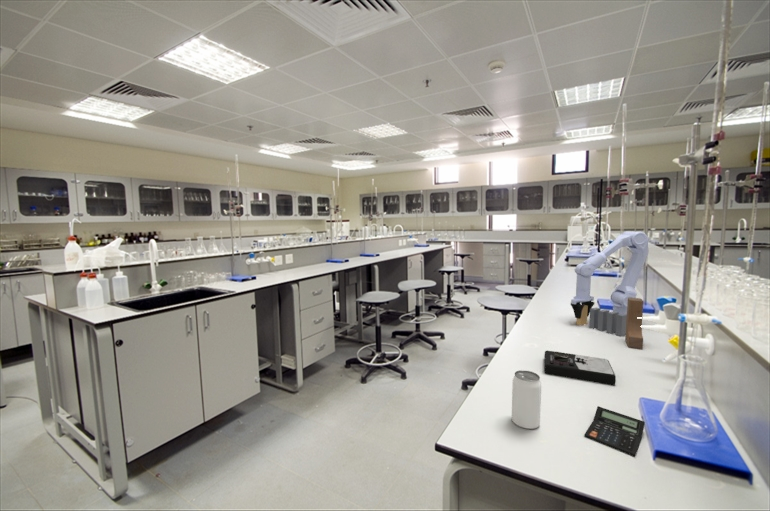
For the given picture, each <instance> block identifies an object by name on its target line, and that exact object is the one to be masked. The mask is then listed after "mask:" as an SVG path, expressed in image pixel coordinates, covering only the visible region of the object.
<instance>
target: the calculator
mask: <svg viewBox="0 0 770 511" xmlns="http://www.w3.org/2000/svg"><path fill="white" fill-rule="evenodd" d="M645 423H646V422H645V421H644V420H642V419H641V420H640V419H637V418H635V417H632V416H628V415H625V414H623V413H620V412H616V411H614V410H610V409H607V408H605V407H601V406H599V405H597V407H596V409H595V413H594V416H593V420H592V422H591V423H590V425H589V426H588V428H587V430H586V431H585V433H584V435H583V437H584V438H587V439H589V440H592V441H594V442H597V443H599V444H601V445H603V446H606V447H608V448H612V449H614V450H617V451H618V452H621V453H624V454H625V455H629V456H631V457H634V458H636V455H637V453H638V450H639V447H640V444H641V442H642V438H643V435H644V429H645Z"/></svg>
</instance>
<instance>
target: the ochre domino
mask: <svg viewBox="0 0 770 511" xmlns="http://www.w3.org/2000/svg"><path fill="white" fill-rule="evenodd" d="M587 312H588V306H587V305H584V307H583V309H582V313H581V318H580V319H578V318H576V325H577V324H578V325H577V326H580V325H581V326H584V324H585V325H587V324H588V317H587Z"/></svg>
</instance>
